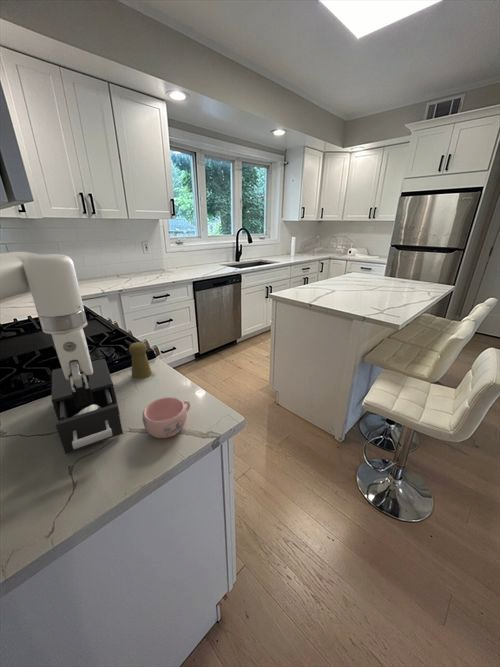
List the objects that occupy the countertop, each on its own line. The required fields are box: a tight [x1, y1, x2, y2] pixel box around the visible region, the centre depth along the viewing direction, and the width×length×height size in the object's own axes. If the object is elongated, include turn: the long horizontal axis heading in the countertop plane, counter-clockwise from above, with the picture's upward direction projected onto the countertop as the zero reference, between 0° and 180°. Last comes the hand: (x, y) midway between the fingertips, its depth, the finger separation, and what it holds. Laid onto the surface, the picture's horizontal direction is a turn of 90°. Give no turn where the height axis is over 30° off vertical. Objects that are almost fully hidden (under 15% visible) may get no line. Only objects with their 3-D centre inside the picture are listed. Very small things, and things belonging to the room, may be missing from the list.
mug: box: [142, 396, 191, 439], centre depth 67 cm, size 12×10×6 cm
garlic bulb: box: [73, 405, 101, 417], centre depth 64 cm, size 6×6×5 cm
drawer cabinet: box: [51, 358, 120, 421], centre depth 73 cm, size 16×13×10 cm
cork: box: [128, 341, 152, 380], centre depth 88 cm, size 6×6×11 cm
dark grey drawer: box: [55, 388, 124, 455], centre depth 63 cm, size 20×11×8 cm, turn 33°
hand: (83, 393), depth 61 cm, fingers open, 9 cm apart
